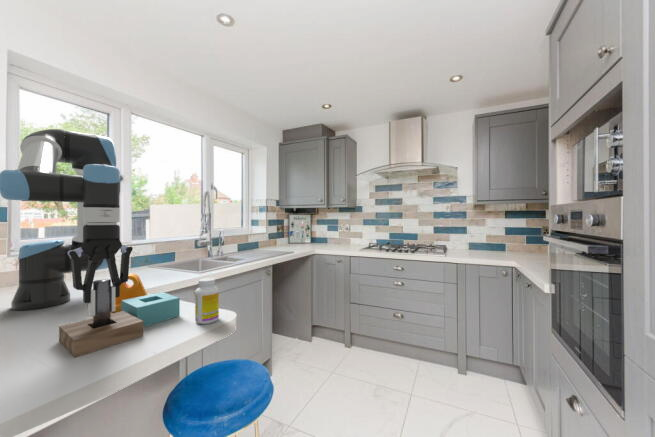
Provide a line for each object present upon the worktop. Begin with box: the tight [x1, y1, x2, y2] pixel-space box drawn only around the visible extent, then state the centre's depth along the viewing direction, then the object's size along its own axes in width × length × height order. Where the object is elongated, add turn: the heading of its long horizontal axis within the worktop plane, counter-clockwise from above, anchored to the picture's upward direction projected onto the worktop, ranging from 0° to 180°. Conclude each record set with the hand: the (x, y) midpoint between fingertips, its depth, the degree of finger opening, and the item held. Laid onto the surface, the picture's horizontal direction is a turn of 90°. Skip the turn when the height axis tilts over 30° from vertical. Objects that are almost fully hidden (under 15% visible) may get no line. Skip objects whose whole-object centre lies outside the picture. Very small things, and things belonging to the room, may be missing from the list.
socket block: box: [58, 311, 144, 358], centre depth 72 cm, size 14×14×4 cm
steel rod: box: [92, 278, 112, 329], centre depth 72 cm, size 4×4×14 cm
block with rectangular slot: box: [121, 291, 181, 328], centre depth 87 cm, size 12×12×6 cm
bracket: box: [111, 273, 148, 314], centre depth 94 cm, size 11×7×12 cm, turn 116°
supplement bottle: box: [194, 277, 220, 325], centre depth 84 cm, size 7×7×13 cm
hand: (102, 312), depth 72 cm, fingers closed on steel rod, 4 cm apart
